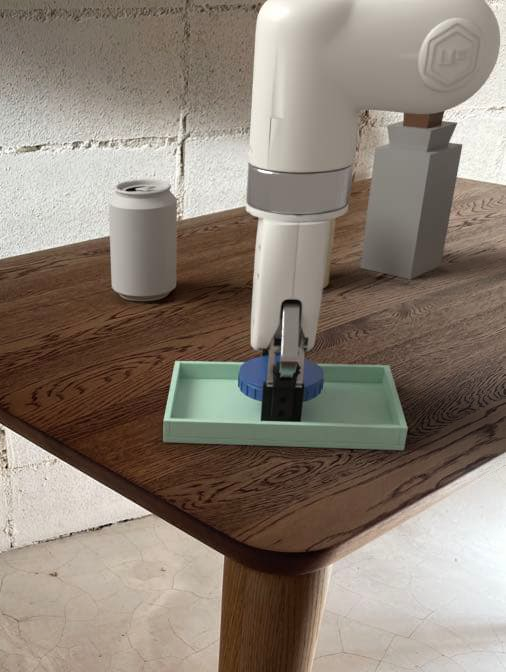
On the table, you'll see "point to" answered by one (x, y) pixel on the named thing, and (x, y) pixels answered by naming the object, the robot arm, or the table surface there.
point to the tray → (313, 431)
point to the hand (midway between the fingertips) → (279, 406)
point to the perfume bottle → (411, 196)
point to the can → (143, 239)
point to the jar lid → (256, 374)
